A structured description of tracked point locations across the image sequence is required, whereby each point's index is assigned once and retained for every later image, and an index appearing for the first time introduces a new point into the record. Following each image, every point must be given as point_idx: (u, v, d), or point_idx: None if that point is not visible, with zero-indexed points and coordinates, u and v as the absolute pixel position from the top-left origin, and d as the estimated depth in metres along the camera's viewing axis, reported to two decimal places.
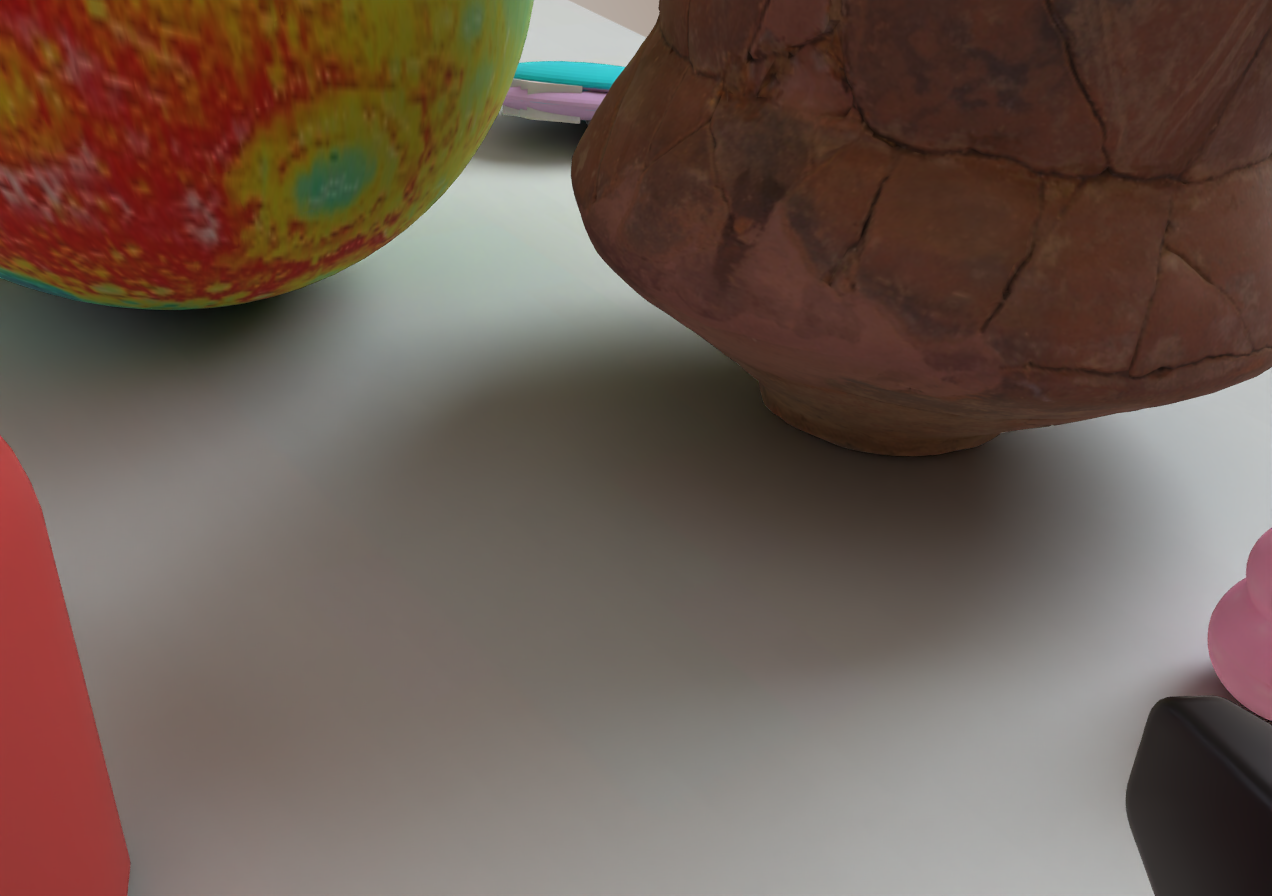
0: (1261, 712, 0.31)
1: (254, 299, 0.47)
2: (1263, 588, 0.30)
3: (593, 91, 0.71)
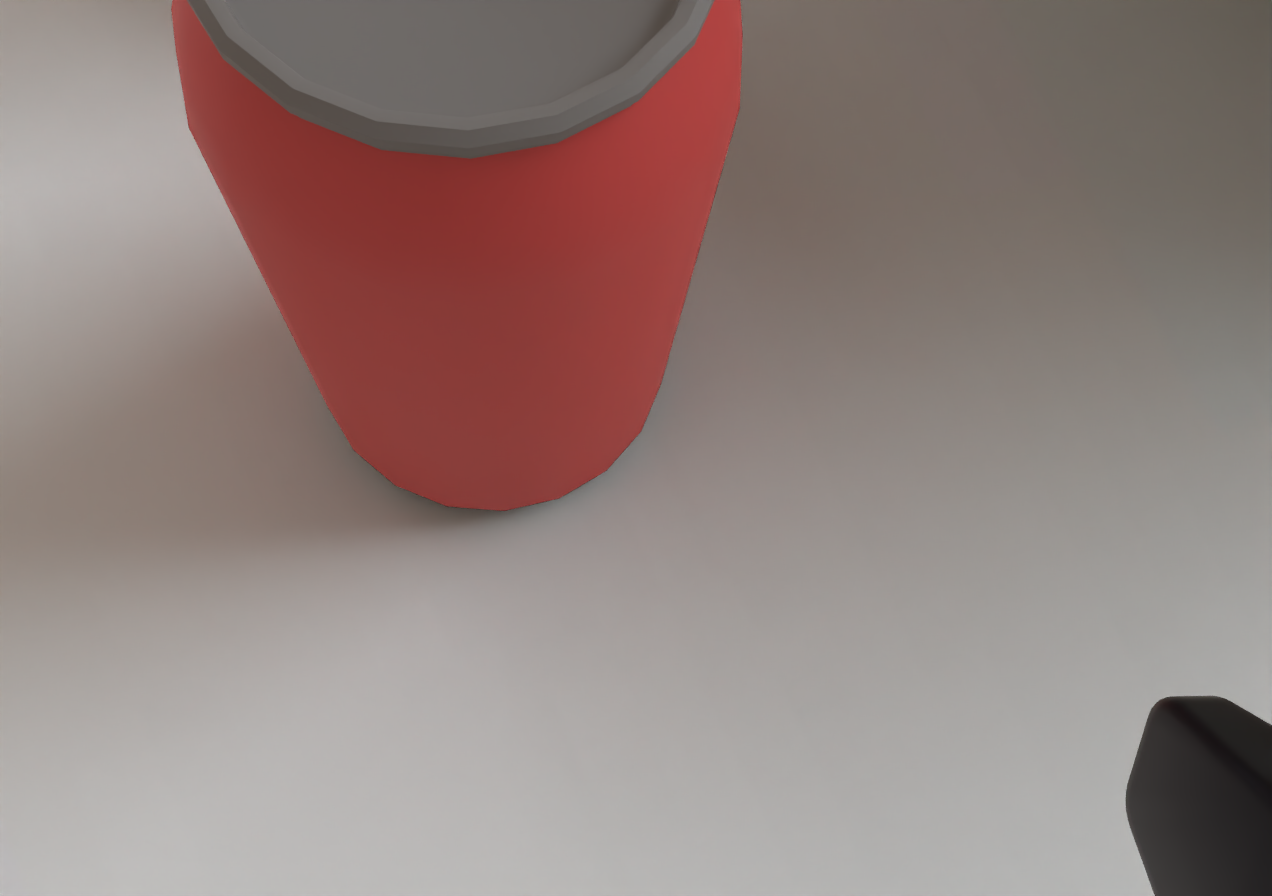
0: None
1: None
2: None
3: None
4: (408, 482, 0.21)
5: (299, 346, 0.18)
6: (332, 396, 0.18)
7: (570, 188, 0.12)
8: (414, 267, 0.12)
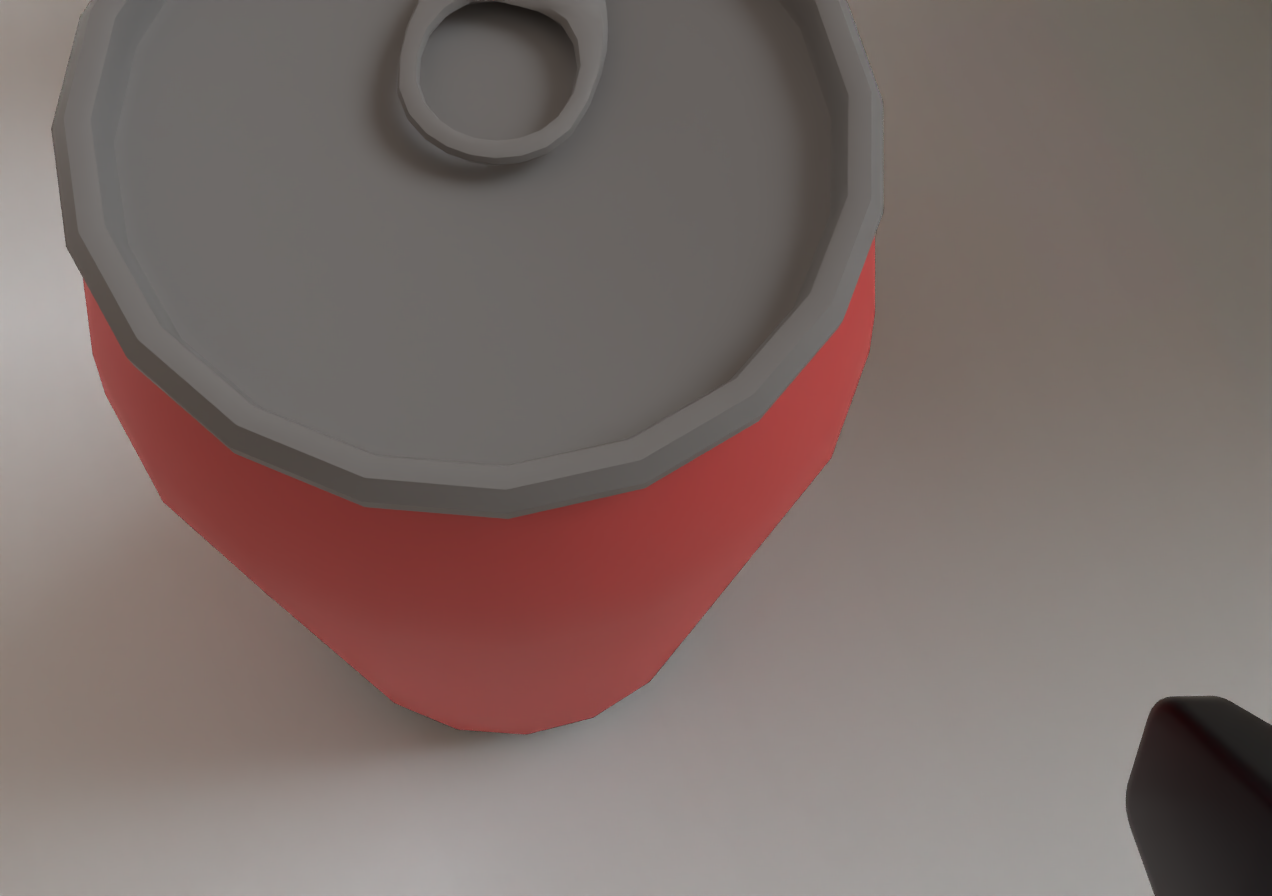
0: None
1: None
2: None
3: None
4: (410, 708, 0.17)
5: None
6: None
7: (652, 529, 0.08)
8: (421, 620, 0.09)
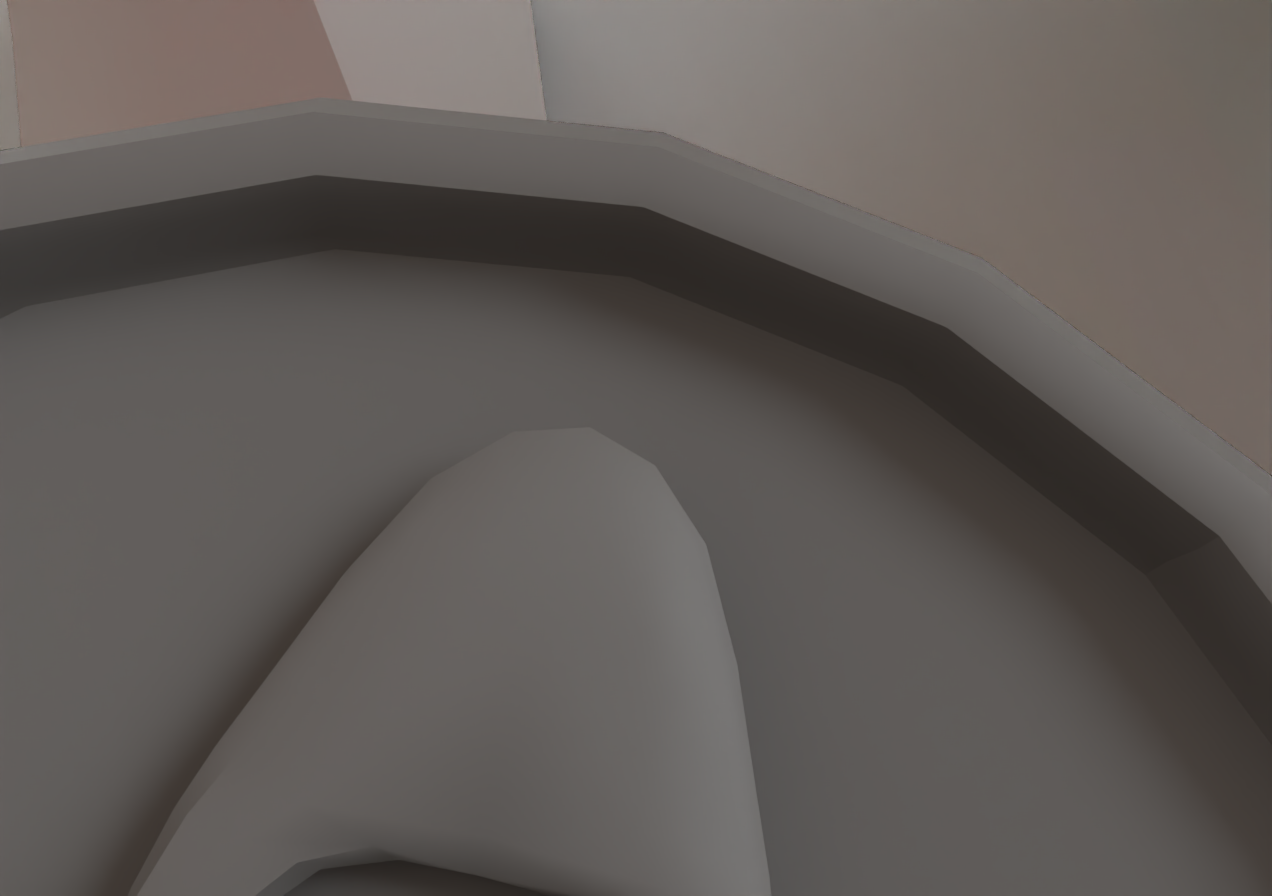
0: None
1: None
2: None
3: None
4: None
5: None
6: None
7: None
8: None
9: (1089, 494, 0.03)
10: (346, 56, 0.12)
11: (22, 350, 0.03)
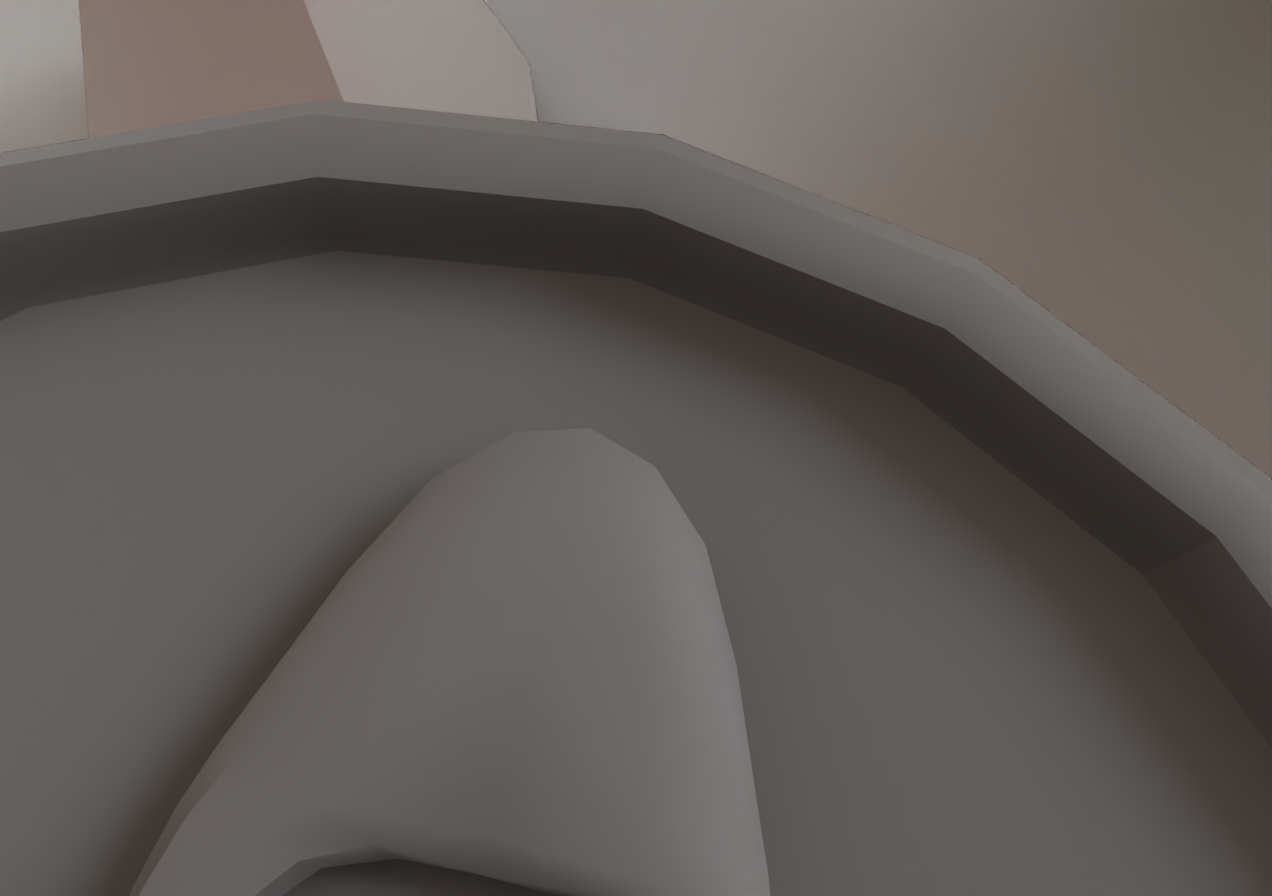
0: None
1: None
2: None
3: None
4: None
5: None
6: None
7: None
8: None
9: (1086, 493, 0.03)
10: None
11: (23, 350, 0.03)
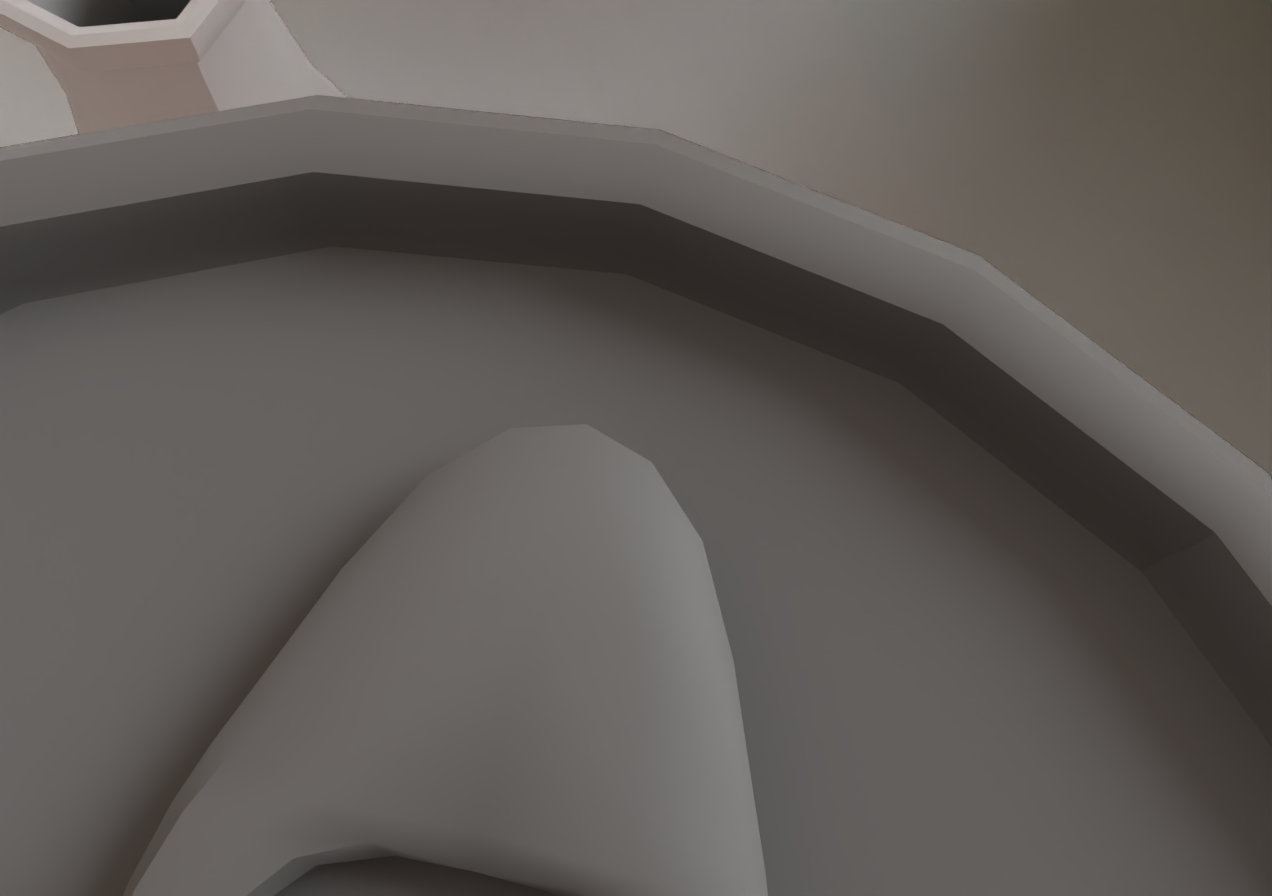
0: None
1: None
2: None
3: None
4: None
5: None
6: None
7: None
8: None
9: (1085, 491, 0.03)
10: None
11: (19, 347, 0.03)
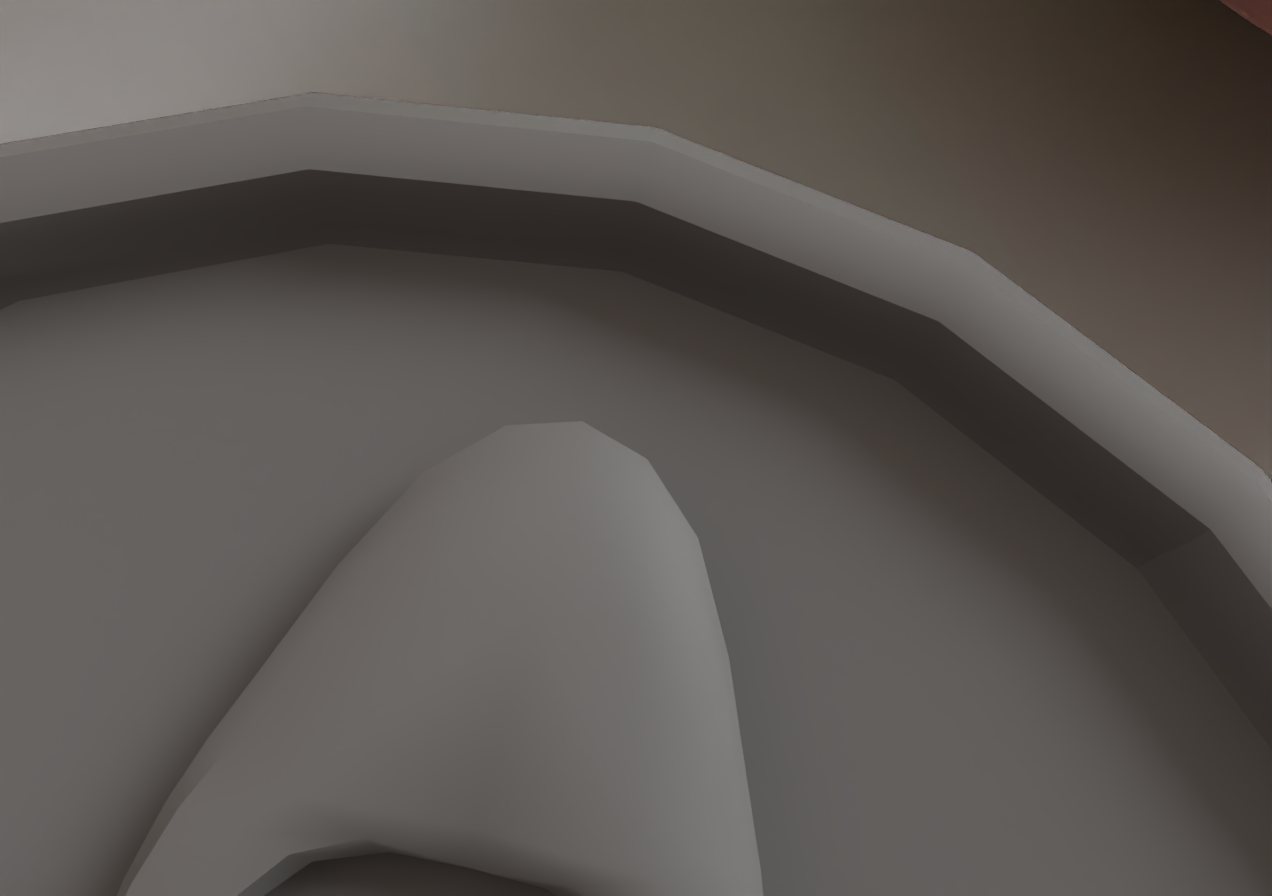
0: None
1: None
2: None
3: None
4: None
5: None
6: None
7: None
8: None
9: (1081, 488, 0.03)
10: None
11: (15, 344, 0.03)
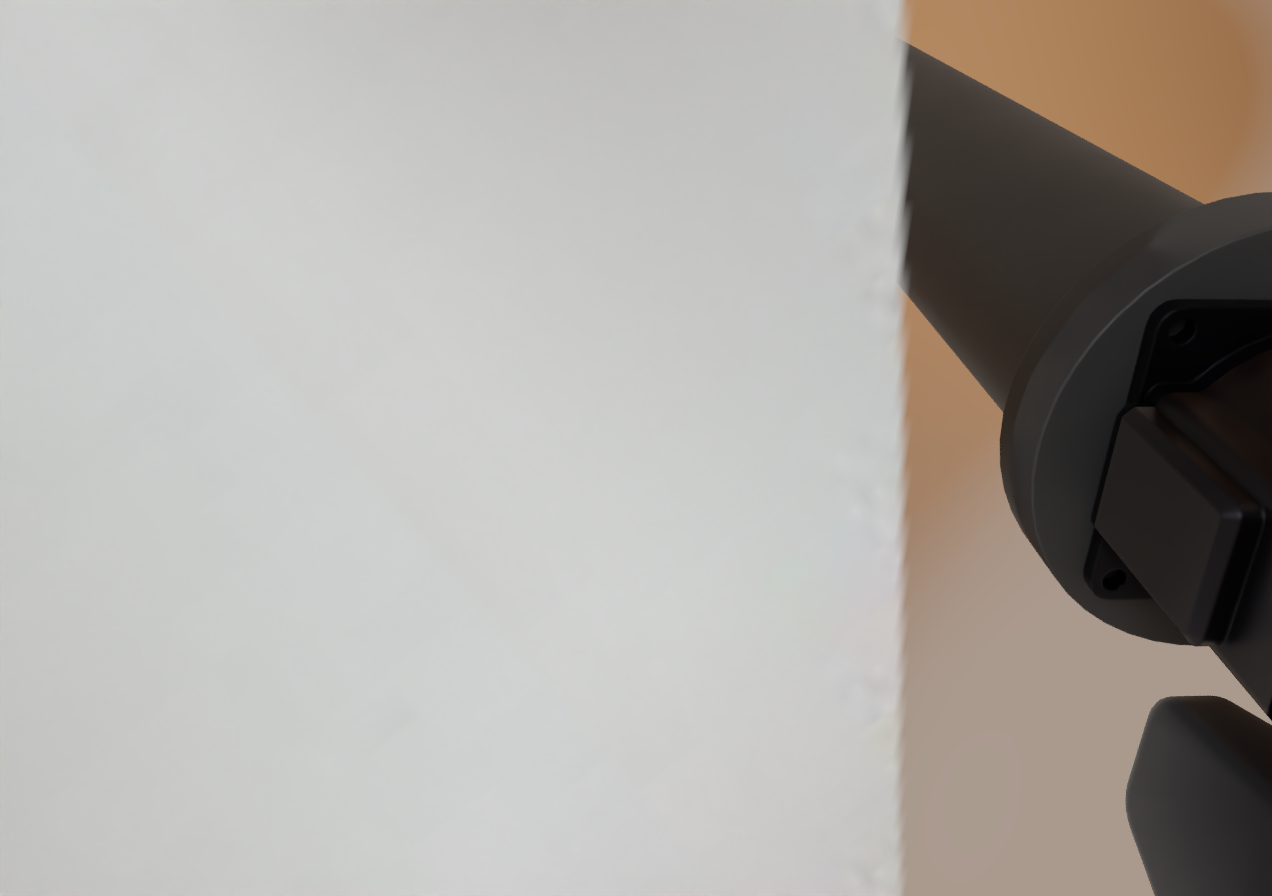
0: None
1: None
2: None
3: None
4: None
5: None
6: None
7: None
8: None
9: None
10: None
11: None
